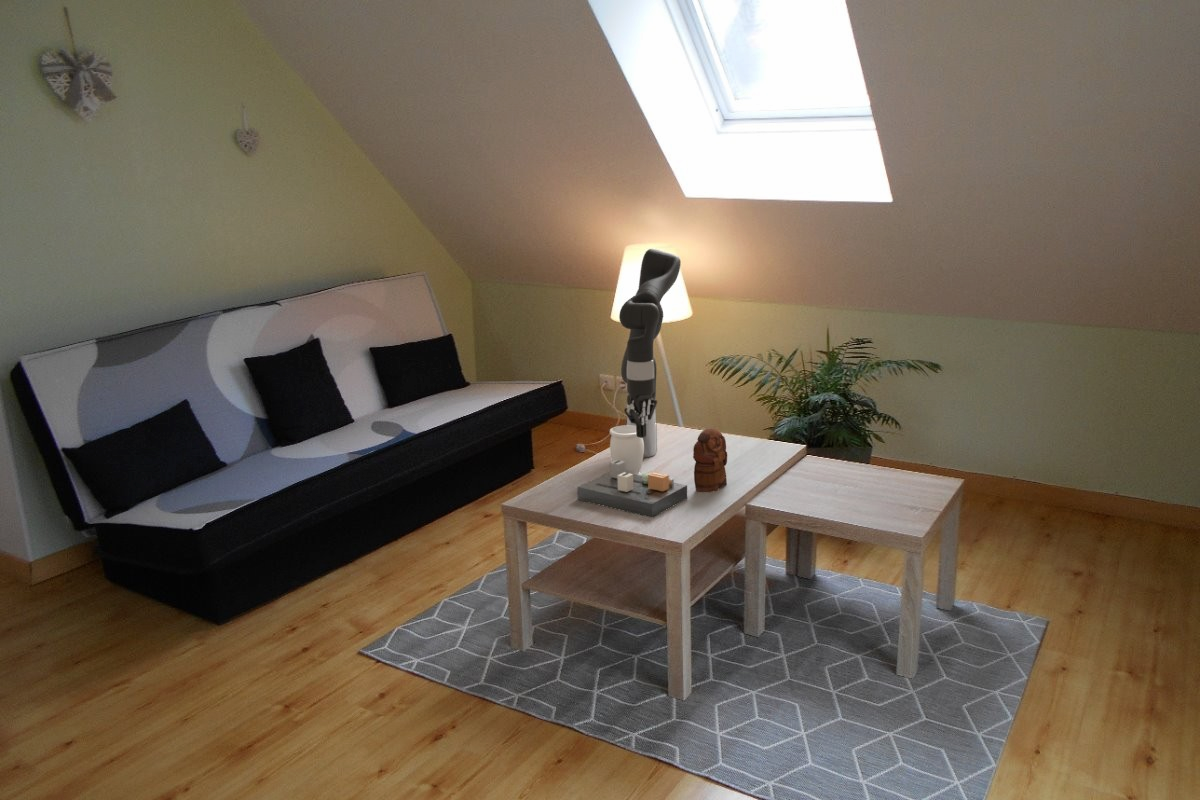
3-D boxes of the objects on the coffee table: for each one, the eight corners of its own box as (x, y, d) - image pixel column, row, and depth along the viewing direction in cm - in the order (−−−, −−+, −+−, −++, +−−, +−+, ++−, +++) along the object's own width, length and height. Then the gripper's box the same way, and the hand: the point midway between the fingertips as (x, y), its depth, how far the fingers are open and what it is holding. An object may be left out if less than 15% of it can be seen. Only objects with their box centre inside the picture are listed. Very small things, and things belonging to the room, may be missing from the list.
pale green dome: (647, 478, 294) (647, 472, 294) (658, 481, 292) (658, 474, 291) (639, 482, 291) (639, 475, 291) (650, 484, 289) (650, 478, 288)
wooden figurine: (709, 495, 292) (709, 435, 287) (691, 490, 296) (691, 432, 291) (731, 483, 301) (731, 426, 296) (713, 479, 304) (713, 422, 300)
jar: (641, 482, 304) (640, 435, 300) (607, 481, 306) (606, 433, 302) (646, 471, 314) (646, 425, 310) (614, 470, 316) (613, 424, 312)
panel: (614, 482, 305) (613, 462, 303) (687, 498, 289) (687, 477, 288) (577, 499, 291) (577, 478, 289) (652, 517, 276) (651, 495, 274)
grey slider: (616, 473, 299) (616, 459, 298) (625, 475, 297) (624, 461, 296) (610, 476, 296) (609, 462, 295) (618, 478, 295) (618, 463, 293)
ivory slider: (624, 486, 288) (623, 471, 287) (633, 488, 286) (633, 473, 285) (617, 489, 285) (617, 474, 284) (626, 492, 283) (626, 476, 282)
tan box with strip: (654, 485, 288) (654, 471, 287) (668, 488, 285) (668, 474, 284) (648, 488, 286) (648, 474, 285) (663, 491, 283) (662, 477, 282)
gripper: (637, 382, 265) (639, 445, 270) (665, 372, 275) (666, 432, 280) (615, 379, 270) (616, 440, 274) (642, 369, 280) (643, 428, 284)
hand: (641, 436), depth 277 cm, fingers closed
